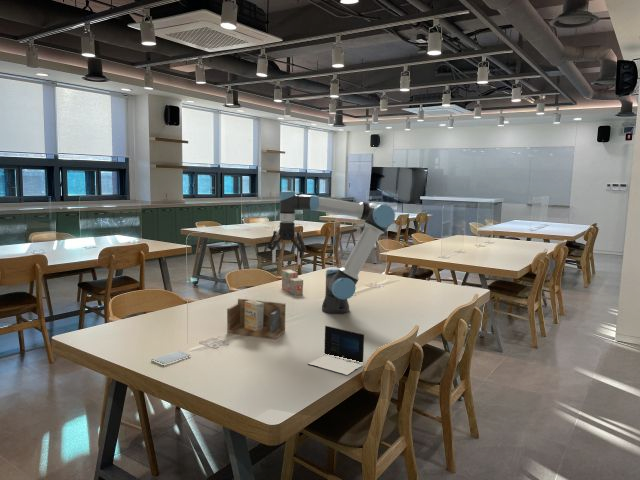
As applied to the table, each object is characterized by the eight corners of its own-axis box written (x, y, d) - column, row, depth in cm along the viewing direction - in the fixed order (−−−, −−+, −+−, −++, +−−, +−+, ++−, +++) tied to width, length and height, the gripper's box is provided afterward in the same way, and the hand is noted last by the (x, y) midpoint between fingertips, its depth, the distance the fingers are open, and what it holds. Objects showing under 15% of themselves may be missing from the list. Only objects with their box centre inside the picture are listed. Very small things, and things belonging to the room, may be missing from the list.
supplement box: (243, 328, 221) (243, 301, 220) (251, 326, 225) (251, 299, 223) (256, 332, 216) (256, 304, 215) (263, 329, 220) (264, 302, 218)
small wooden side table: (285, 331, 224) (285, 303, 222) (275, 339, 212) (275, 309, 211) (238, 325, 231) (239, 298, 229) (227, 332, 219) (227, 304, 217)
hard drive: (164, 364, 179) (190, 354, 189) (151, 358, 183) (177, 349, 193) (164, 368, 179) (191, 358, 189) (151, 363, 184) (177, 353, 194)
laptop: (307, 365, 184) (307, 333, 183) (324, 356, 195) (325, 325, 193) (347, 377, 175) (348, 343, 173) (363, 366, 185) (364, 334, 183)
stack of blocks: (303, 294, 296) (303, 275, 294) (293, 295, 293) (294, 275, 291) (290, 287, 315) (290, 269, 313) (281, 287, 312) (281, 269, 310)
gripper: (261, 221, 237) (260, 262, 240) (308, 223, 230) (307, 266, 233) (267, 220, 245) (266, 260, 247) (313, 222, 238) (312, 264, 240)
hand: (286, 263), depth 240 cm, fingers open, 13 cm apart
